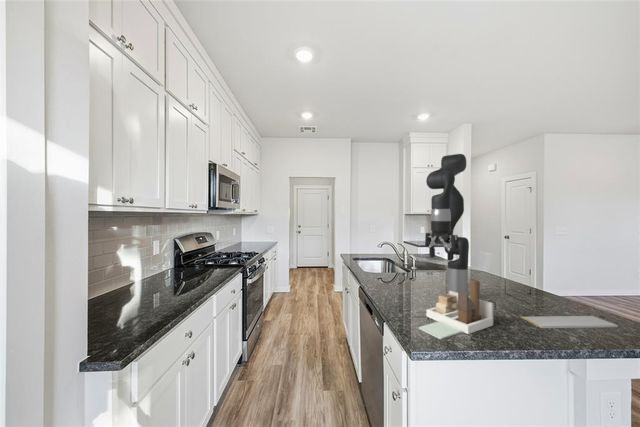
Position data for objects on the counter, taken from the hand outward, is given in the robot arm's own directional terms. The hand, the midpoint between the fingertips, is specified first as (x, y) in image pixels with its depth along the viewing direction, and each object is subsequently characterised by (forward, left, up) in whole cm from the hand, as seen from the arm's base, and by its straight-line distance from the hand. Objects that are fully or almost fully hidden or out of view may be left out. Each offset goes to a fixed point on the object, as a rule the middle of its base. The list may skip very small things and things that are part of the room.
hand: (440, 258), depth 108 cm
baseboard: (-47, +24, -28) cm, 59 cm away
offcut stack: (-8, -3, -27) cm, 28 cm away
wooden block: (-8, +8, -27) cm, 29 cm away
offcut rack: (-8, +3, -27) cm, 28 cm away
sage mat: (+7, +5, -27) cm, 28 cm away
